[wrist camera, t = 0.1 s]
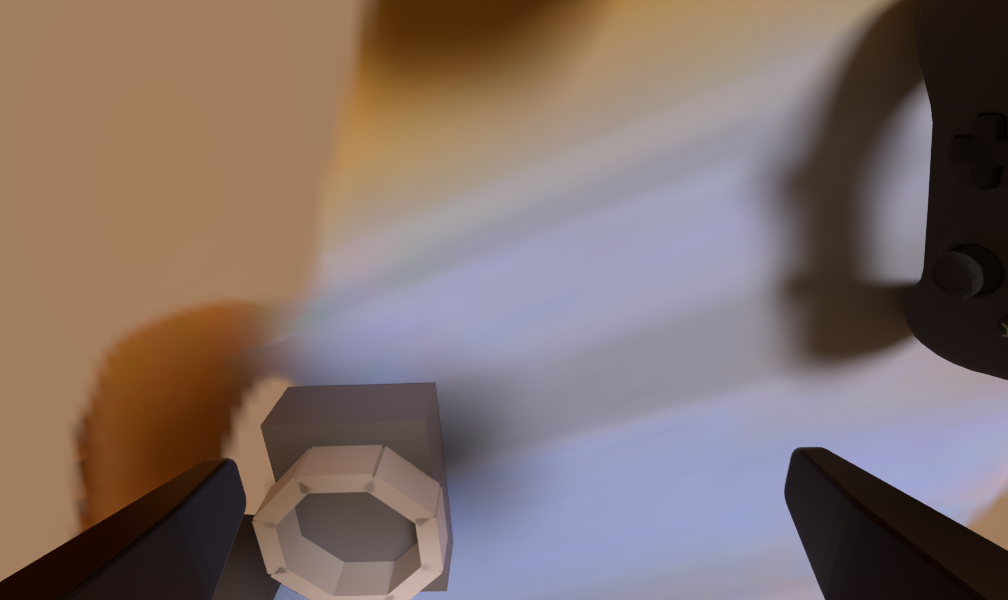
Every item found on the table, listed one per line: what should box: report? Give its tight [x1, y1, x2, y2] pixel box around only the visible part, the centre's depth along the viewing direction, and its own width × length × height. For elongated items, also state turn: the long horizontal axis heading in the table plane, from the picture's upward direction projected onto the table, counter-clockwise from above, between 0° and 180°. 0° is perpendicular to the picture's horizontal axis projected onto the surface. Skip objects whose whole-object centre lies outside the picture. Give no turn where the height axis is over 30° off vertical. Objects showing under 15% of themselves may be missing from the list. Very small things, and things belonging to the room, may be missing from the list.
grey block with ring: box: [252, 383, 453, 600], centre depth 25 cm, size 10×8×5 cm
